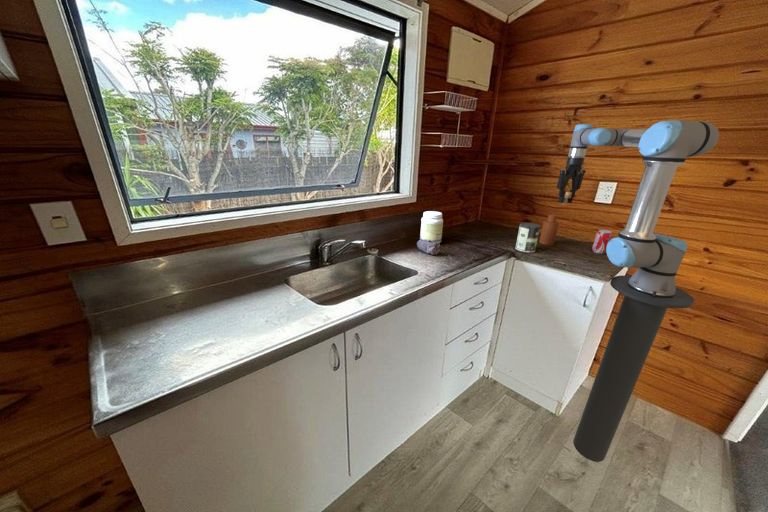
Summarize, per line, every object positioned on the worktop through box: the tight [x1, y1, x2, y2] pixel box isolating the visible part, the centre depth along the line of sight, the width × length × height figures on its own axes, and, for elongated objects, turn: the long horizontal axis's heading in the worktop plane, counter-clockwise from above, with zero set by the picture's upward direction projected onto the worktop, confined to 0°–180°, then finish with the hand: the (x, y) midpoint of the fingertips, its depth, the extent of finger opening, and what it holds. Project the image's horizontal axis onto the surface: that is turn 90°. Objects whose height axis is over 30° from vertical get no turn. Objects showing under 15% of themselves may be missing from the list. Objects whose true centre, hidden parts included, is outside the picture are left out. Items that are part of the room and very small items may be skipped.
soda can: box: [591, 229, 613, 255], centre depth 163 cm, size 7×7×12 cm
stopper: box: [561, 190, 572, 206], centre depth 163 cm, size 5×5×7 cm
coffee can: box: [514, 221, 542, 254], centre depth 164 cm, size 10×10×14 cm
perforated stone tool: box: [416, 239, 441, 256], centre depth 157 cm, size 15×5×7 cm, turn 36°
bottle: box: [538, 213, 560, 246], centre depth 176 cm, size 8×8×17 cm
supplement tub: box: [419, 210, 444, 244], centre depth 172 cm, size 12×12×17 cm
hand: (564, 202), depth 164 cm, fingers closed on stopper, 5 cm apart
